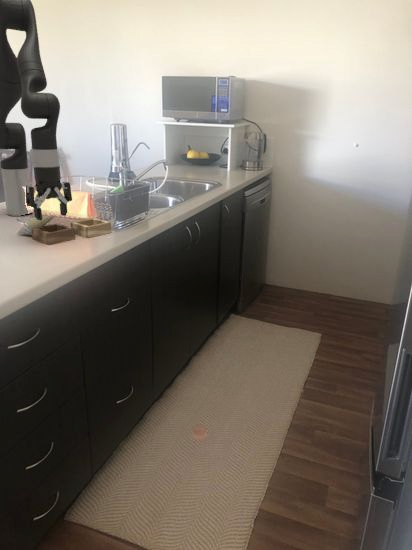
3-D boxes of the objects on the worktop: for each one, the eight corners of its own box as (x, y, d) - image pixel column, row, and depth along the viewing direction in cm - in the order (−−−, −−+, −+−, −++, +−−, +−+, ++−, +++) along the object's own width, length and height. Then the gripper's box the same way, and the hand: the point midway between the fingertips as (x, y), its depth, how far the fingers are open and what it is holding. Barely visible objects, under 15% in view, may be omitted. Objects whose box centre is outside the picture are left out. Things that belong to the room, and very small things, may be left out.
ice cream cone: (60, 225, 139) (23, 242, 143) (57, 211, 140) (20, 228, 144) (51, 220, 134) (12, 238, 138) (47, 206, 136) (9, 224, 139)
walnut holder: (32, 239, 136) (31, 228, 135) (58, 233, 143) (57, 223, 142) (49, 244, 131) (48, 233, 130) (75, 238, 138) (74, 228, 137)
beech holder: (71, 232, 145) (70, 222, 144) (94, 227, 152) (93, 218, 150) (88, 237, 139) (87, 227, 138) (111, 232, 146) (110, 222, 145)
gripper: (59, 161, 136) (64, 212, 142) (17, 165, 126) (24, 219, 132) (74, 164, 132) (78, 215, 138) (31, 167, 122) (37, 223, 127)
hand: (51, 217), depth 135 cm, fingers open, 8 cm apart
